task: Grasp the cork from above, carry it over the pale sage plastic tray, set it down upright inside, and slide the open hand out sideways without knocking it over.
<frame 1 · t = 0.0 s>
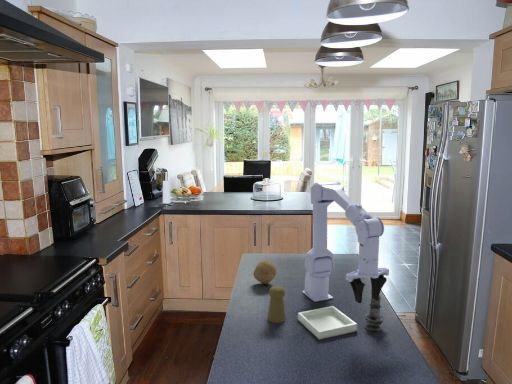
hand: (366, 300, 123), 10 cm above the countertop, tool pointing down, fingers open, 6 cm apart
natural sponge: (265, 284, 162), on the countertop
tray: (326, 325, 129), on the countertop
cork: (276, 319, 133), on the countertop
gray chess piece: (373, 328, 127), on the countertop, touching gripper
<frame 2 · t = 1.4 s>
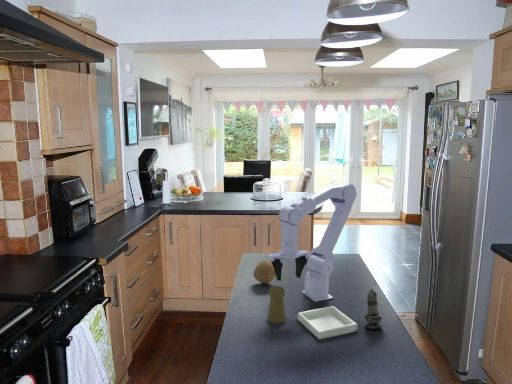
hand: (288, 278, 140), 10 cm above the countertop, tool pointing down, fingers open, 7 cm apart
gray chess piece: (373, 326, 127), on the countertop
everything else where it was.
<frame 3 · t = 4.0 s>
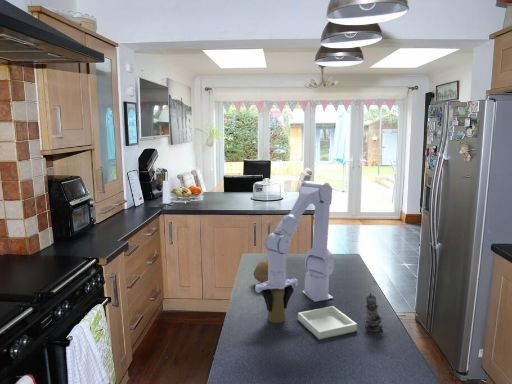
hand: (276, 309, 133), 3 cm above the countertop, tool pointing down, fingers closed on cork, 5 cm apart
cork: (276, 319, 133), on the countertop, touching gripper
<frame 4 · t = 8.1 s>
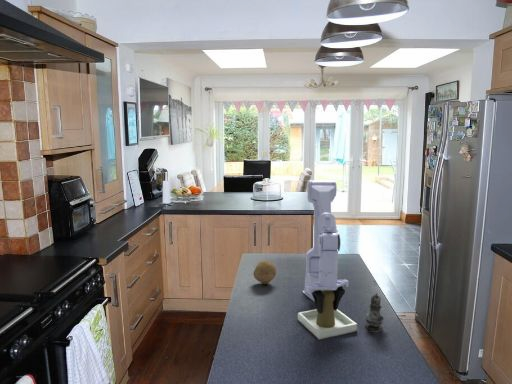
hand: (326, 310, 128), 5 cm above the countertop, tool pointing down, fingers closed on cork, 5 cm apart
cork: (325, 323, 129), resting on tray, touching gripper
when the fingers open (5 cm above the countertop, at t = 8.4 s): cork stays where it is, resting on tray.
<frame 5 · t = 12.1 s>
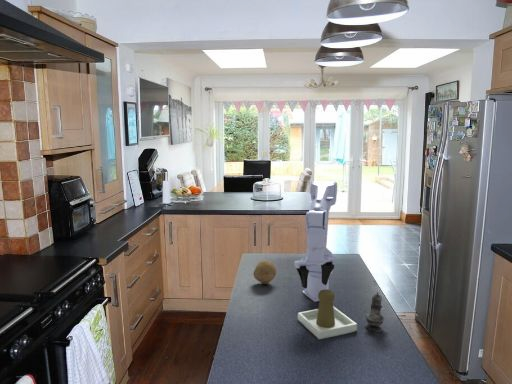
hand: (314, 285, 134), 10 cm above the countertop, tool pointing down, fingers open, 7 cm apart
cork: (325, 323, 129), resting on tray
at the end: cork inside the target area on the tray (0.5 cm from its centre), point 0.2 cm above the tray's base; cork tilted 0°; the gripper is holding nothing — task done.
